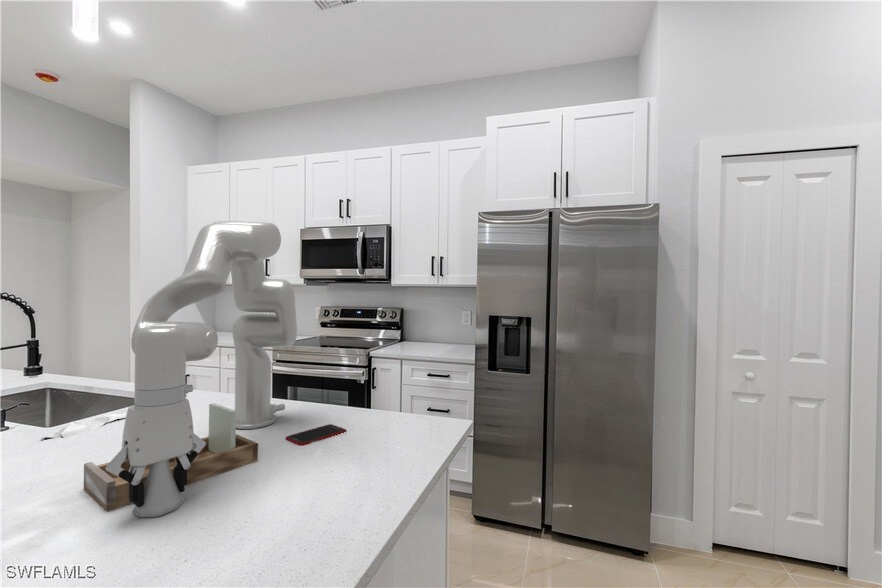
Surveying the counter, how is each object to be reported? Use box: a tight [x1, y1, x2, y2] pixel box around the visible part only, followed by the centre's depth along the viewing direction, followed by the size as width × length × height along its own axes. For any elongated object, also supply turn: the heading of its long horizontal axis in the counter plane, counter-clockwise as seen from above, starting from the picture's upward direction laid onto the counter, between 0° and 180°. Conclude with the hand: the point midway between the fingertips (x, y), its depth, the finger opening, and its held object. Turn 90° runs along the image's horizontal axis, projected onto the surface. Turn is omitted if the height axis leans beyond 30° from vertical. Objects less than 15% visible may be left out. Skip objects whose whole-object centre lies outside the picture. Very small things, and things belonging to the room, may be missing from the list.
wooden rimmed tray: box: [83, 433, 259, 512], centre depth 88 cm, size 28×13×5 cm, turn 144°
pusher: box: [208, 402, 237, 454], centre depth 96 cm, size 1×10×11 cm, turn 54°
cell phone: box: [285, 423, 347, 447], centre depth 113 cm, size 8×15×1 cm, turn 141°
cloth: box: [37, 412, 127, 443], centre depth 118 cm, size 26×14×2 cm, turn 156°
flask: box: [132, 460, 185, 518], centre depth 75 cm, size 7×7×10 cm
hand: (159, 496), depth 75 cm, fingers open, 5 cm apart
